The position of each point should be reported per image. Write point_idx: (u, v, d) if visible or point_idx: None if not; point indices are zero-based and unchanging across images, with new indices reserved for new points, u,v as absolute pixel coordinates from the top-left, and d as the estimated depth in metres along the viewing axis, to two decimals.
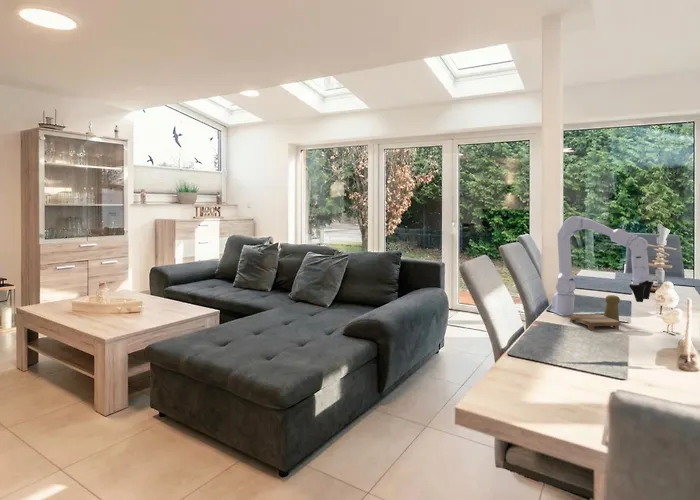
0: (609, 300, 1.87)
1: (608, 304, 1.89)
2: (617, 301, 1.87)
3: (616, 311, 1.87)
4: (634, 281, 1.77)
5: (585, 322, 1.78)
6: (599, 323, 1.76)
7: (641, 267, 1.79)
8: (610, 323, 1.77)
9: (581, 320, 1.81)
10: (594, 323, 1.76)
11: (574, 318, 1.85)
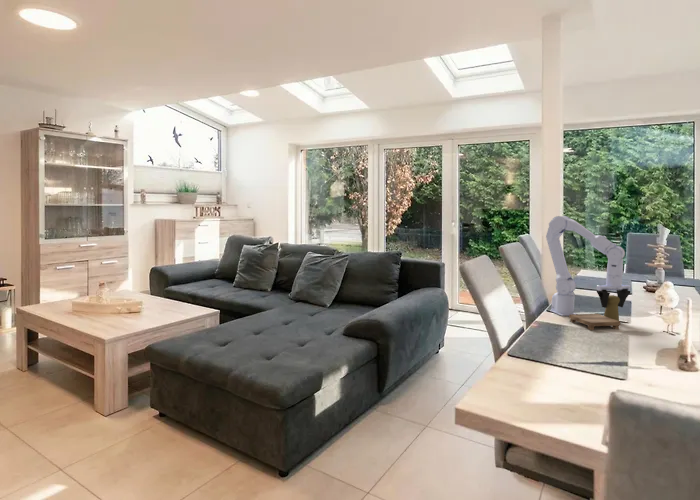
0: (609, 300, 1.87)
1: (608, 304, 1.89)
2: (617, 301, 1.87)
3: (616, 311, 1.87)
4: (597, 287, 1.87)
5: (585, 322, 1.78)
6: (599, 323, 1.76)
7: (610, 275, 1.86)
8: (610, 323, 1.77)
9: (581, 320, 1.81)
10: (594, 323, 1.76)
11: (574, 318, 1.85)
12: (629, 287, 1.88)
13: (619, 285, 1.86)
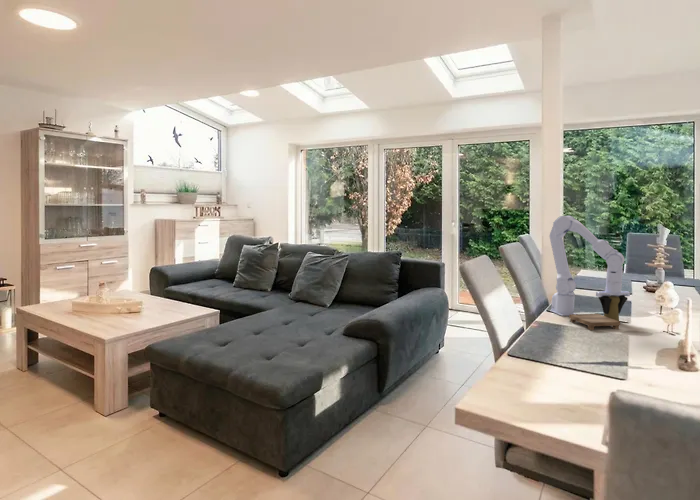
0: None
1: None
2: (617, 301, 1.87)
3: (616, 311, 1.87)
4: (597, 293, 1.88)
5: (585, 322, 1.78)
6: (599, 323, 1.76)
7: (610, 281, 1.87)
8: (610, 323, 1.77)
9: (581, 320, 1.81)
10: (594, 323, 1.76)
11: (574, 318, 1.85)
12: (628, 293, 1.89)
13: (618, 291, 1.86)
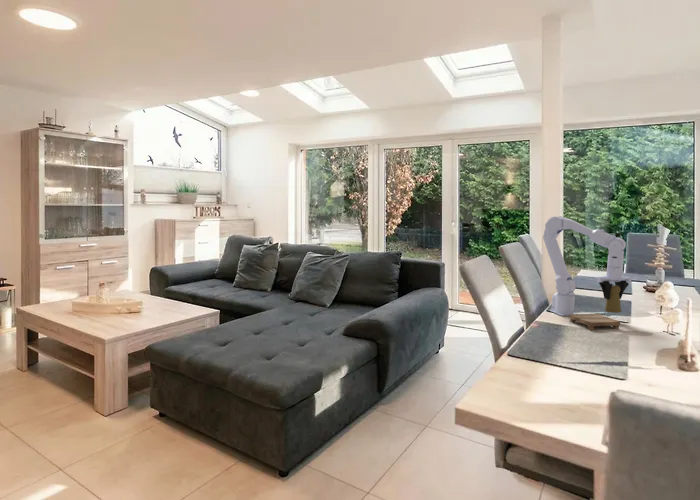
0: None
1: None
2: (618, 290, 1.86)
3: (617, 300, 1.86)
4: (598, 278, 1.87)
5: (585, 322, 1.78)
6: (599, 323, 1.76)
7: (611, 266, 1.86)
8: (610, 323, 1.77)
9: (581, 320, 1.81)
10: (594, 323, 1.76)
11: (574, 318, 1.85)
12: (629, 279, 1.88)
13: (620, 277, 1.85)
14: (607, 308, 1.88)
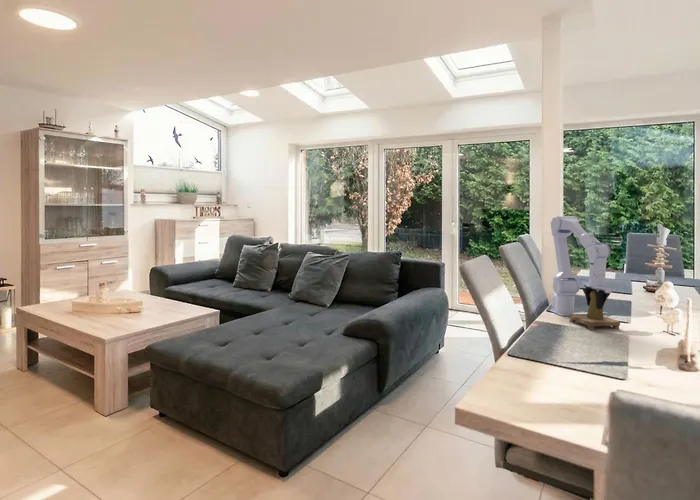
0: None
1: None
2: (591, 296, 1.81)
3: (590, 306, 1.82)
4: None
5: (585, 322, 1.78)
6: (599, 323, 1.76)
7: None
8: (610, 323, 1.77)
9: (581, 320, 1.81)
10: (594, 323, 1.76)
11: (574, 318, 1.85)
12: (606, 289, 1.75)
13: (590, 283, 1.81)
14: None
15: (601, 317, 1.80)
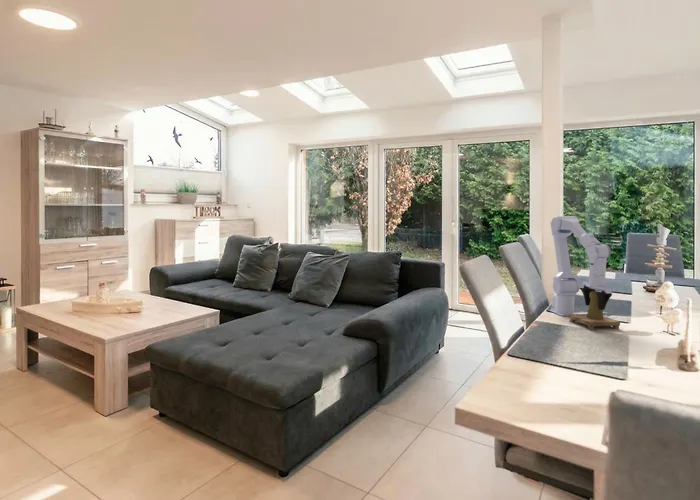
0: None
1: None
2: (591, 296, 1.82)
3: (590, 306, 1.82)
4: None
5: (585, 322, 1.78)
6: (599, 323, 1.76)
7: None
8: (610, 323, 1.77)
9: (581, 320, 1.81)
10: (594, 323, 1.76)
11: (574, 318, 1.85)
12: (605, 290, 1.75)
13: (590, 284, 1.81)
14: None
15: (601, 317, 1.80)
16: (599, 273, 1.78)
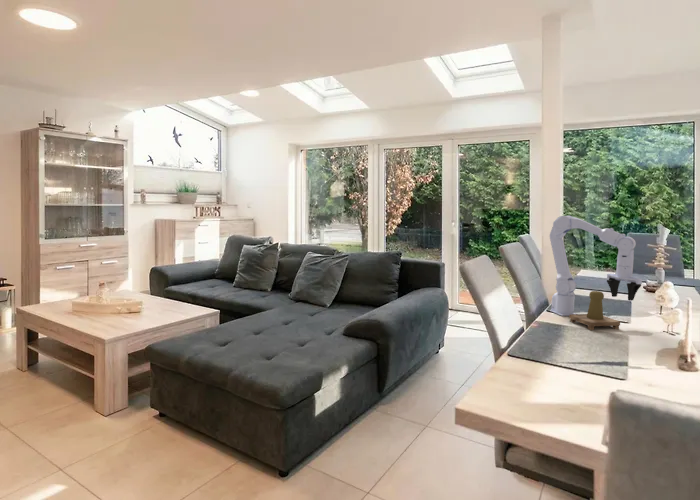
0: None
1: None
2: (591, 296, 1.82)
3: (590, 306, 1.82)
4: None
5: (585, 322, 1.78)
6: (599, 323, 1.76)
7: None
8: (610, 323, 1.77)
9: (581, 320, 1.81)
10: (594, 323, 1.76)
11: (574, 318, 1.85)
12: (636, 281, 1.79)
13: (619, 275, 1.84)
14: None
15: (601, 317, 1.80)
16: (631, 264, 1.82)
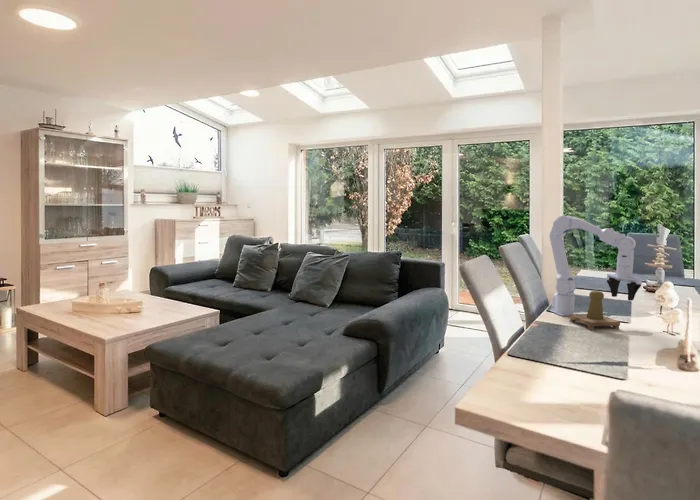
0: None
1: None
2: (591, 296, 1.82)
3: (590, 306, 1.82)
4: None
5: (585, 322, 1.78)
6: (599, 323, 1.76)
7: None
8: (610, 323, 1.77)
9: (581, 320, 1.81)
10: (594, 323, 1.76)
11: (574, 318, 1.85)
12: (636, 281, 1.79)
13: (619, 275, 1.84)
14: None
15: (601, 317, 1.80)
16: (631, 264, 1.82)
